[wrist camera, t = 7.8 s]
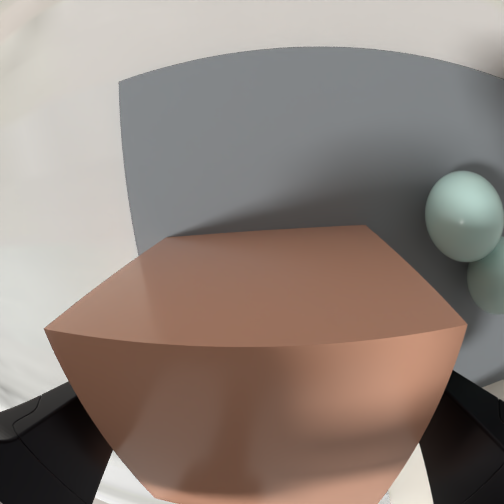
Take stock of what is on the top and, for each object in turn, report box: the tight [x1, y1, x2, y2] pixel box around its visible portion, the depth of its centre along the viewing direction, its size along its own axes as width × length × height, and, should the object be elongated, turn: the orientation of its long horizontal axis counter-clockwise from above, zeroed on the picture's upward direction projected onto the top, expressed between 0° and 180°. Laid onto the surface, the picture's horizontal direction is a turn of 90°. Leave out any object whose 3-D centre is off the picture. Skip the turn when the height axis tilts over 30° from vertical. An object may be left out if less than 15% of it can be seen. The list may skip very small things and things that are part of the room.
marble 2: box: [467, 236, 504, 315], centre depth 8 cm, size 3×3×3 cm
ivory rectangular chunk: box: [388, 380, 504, 504], centre depth 9 cm, size 7×7×6 cm
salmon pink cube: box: [44, 225, 468, 504], centre depth 8 cm, size 7×7×6 cm
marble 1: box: [425, 171, 504, 262], centre depth 7 cm, size 3×3×3 cm
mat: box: [119, 47, 504, 387], centre depth 11 cm, size 24×21×1 cm
